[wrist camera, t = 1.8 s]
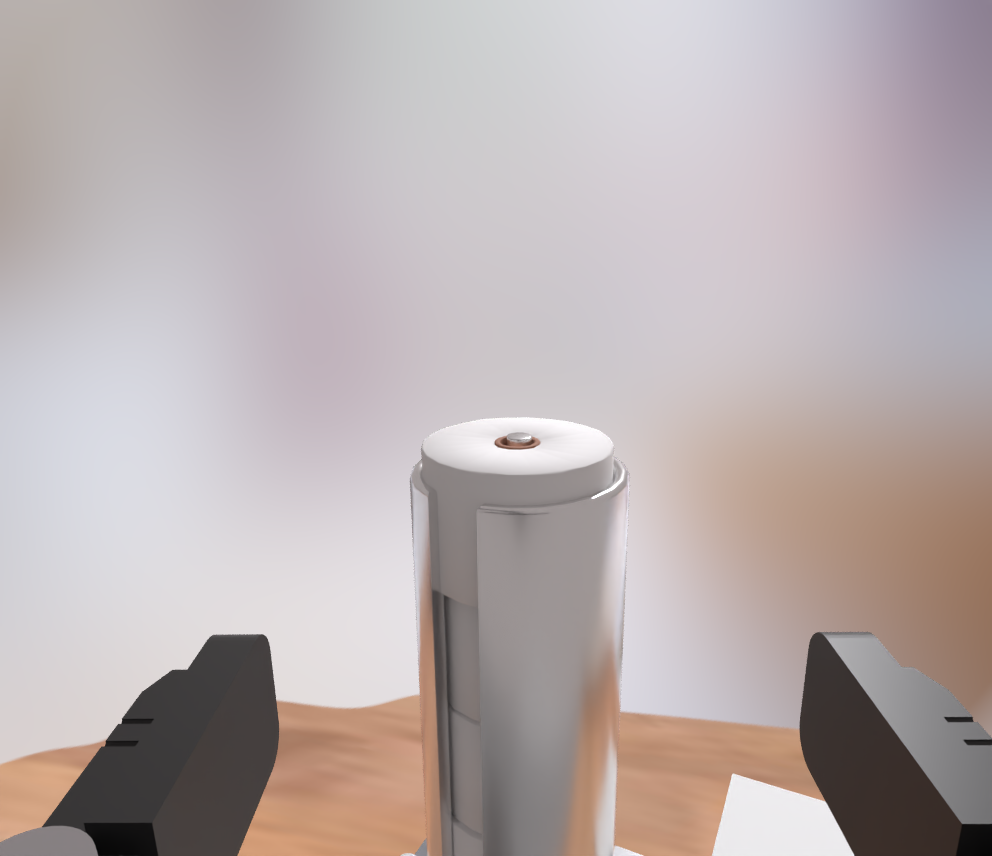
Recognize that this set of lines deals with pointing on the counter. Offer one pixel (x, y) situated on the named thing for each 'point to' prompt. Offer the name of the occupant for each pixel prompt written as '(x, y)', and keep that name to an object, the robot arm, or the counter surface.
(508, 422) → the silver metal canister
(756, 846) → the rubber mat
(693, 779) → the counter surface
